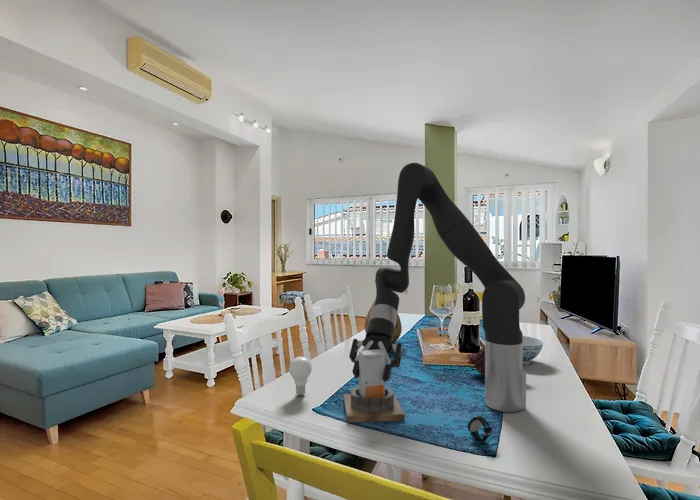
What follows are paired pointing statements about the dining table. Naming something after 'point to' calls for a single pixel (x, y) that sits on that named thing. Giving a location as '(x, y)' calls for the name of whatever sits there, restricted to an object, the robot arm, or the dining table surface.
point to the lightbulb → (300, 373)
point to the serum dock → (372, 407)
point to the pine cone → (478, 361)
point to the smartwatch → (476, 425)
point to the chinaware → (531, 348)
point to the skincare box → (371, 374)
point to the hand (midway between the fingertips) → (370, 378)
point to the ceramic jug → (397, 328)
